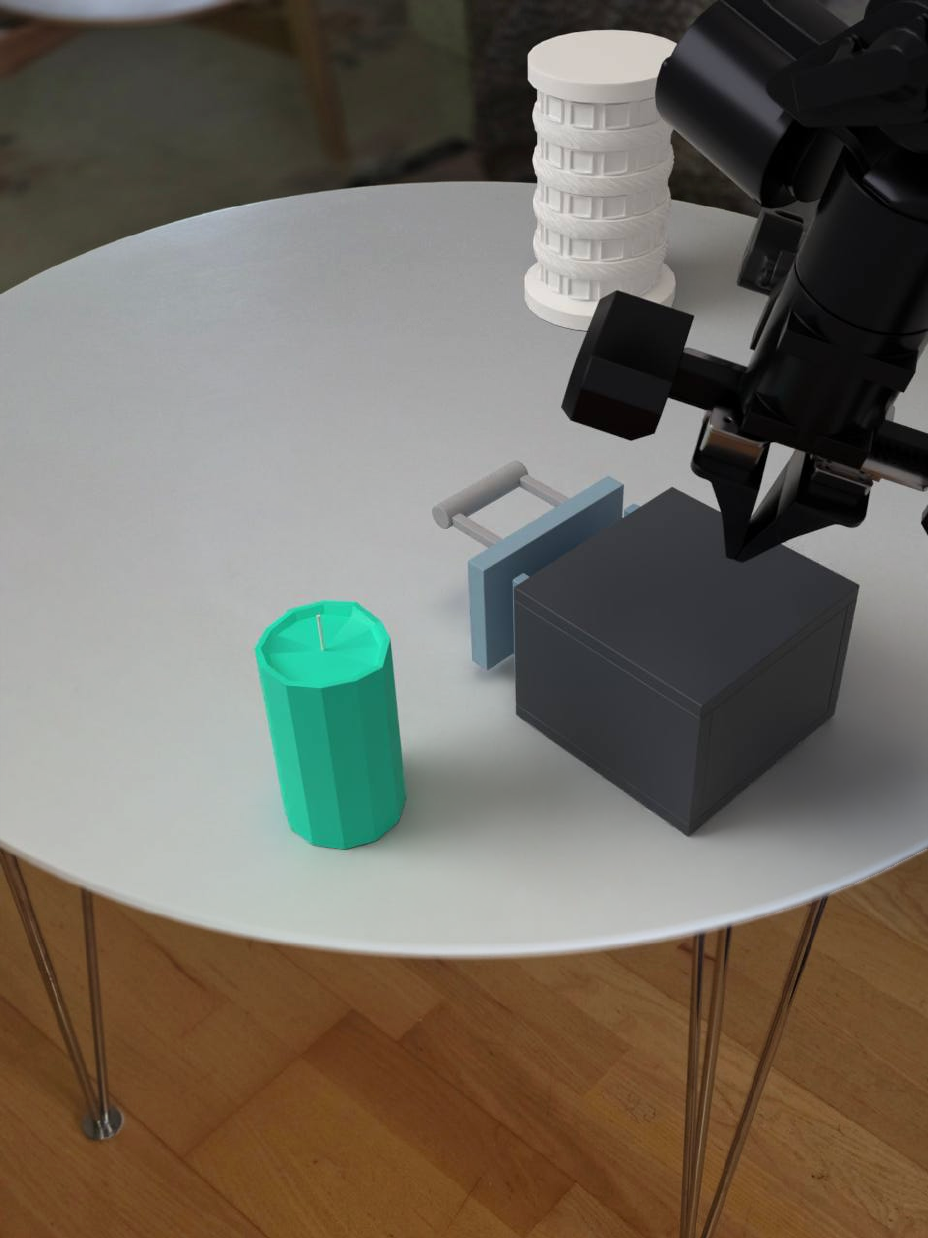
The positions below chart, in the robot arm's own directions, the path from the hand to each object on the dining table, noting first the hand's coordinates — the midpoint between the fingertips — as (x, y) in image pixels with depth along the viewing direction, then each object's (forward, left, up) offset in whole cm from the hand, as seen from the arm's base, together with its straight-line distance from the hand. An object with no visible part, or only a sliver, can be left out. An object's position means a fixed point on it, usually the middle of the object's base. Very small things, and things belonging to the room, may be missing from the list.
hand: (735, 553), depth 62 cm
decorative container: (+45, -16, -12) cm, 49 cm away
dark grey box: (+2, +1, -12) cm, 12 cm away
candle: (+4, +19, -12) cm, 22 cm away
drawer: (+9, +4, -11) cm, 14 cm away
